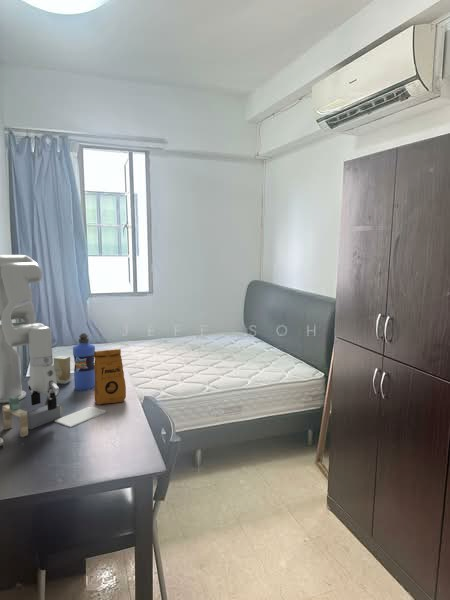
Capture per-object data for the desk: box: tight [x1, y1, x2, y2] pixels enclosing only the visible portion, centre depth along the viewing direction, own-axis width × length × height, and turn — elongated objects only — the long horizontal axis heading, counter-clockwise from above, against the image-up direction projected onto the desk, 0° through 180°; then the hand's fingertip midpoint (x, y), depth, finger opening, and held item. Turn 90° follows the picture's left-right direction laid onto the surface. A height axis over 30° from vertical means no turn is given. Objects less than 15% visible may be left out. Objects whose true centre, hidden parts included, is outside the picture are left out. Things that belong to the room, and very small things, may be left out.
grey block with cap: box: [27, 403, 62, 430], centre depth 148 cm, size 4×13×5 cm, turn 148°
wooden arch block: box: [1, 396, 29, 438], centre depth 139 cm, size 12×2×12 cm, turn 58°
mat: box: [54, 406, 107, 428], centre depth 152 cm, size 9×16×1 cm, turn 148°
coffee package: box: [93, 348, 127, 405], centre depth 167 cm, size 10×12×22 cm
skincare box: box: [53, 355, 71, 385], centre depth 191 cm, size 6×4×12 cm
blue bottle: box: [72, 333, 96, 392], centre depth 183 cm, size 9×9×25 cm
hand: (44, 406), depth 147 cm, fingers open, 9 cm apart
